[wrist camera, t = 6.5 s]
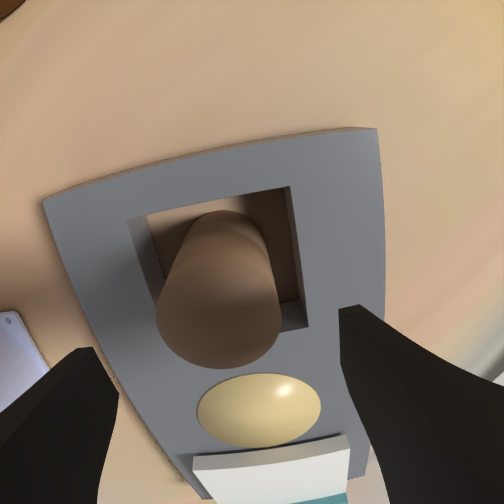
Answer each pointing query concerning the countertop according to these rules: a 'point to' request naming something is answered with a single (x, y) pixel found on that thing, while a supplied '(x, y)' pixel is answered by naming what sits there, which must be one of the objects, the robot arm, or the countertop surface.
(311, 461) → the lid
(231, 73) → the countertop surface
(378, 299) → the housing
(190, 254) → the peg
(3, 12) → the mug
